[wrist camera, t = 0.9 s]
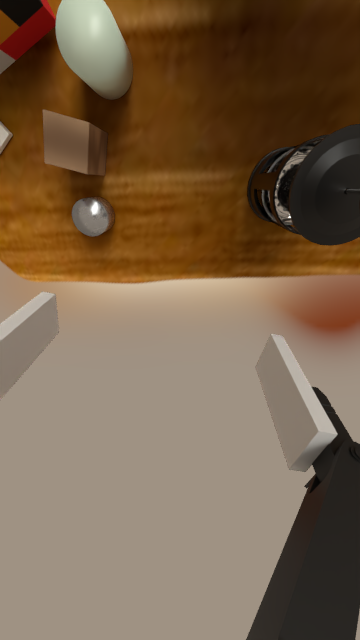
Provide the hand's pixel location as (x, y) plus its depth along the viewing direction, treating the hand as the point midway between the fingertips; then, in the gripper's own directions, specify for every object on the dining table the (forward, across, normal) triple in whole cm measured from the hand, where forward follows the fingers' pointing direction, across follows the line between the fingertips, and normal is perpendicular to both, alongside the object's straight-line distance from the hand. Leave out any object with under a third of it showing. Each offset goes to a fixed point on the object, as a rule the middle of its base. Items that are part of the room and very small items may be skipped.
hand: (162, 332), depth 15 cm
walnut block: (+28, -15, +9) cm, 33 cm away
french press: (+28, +13, +10) cm, 33 cm away
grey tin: (+28, -13, +1) cm, 31 cm away
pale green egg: (+28, -12, +18) cm, 35 cm away
